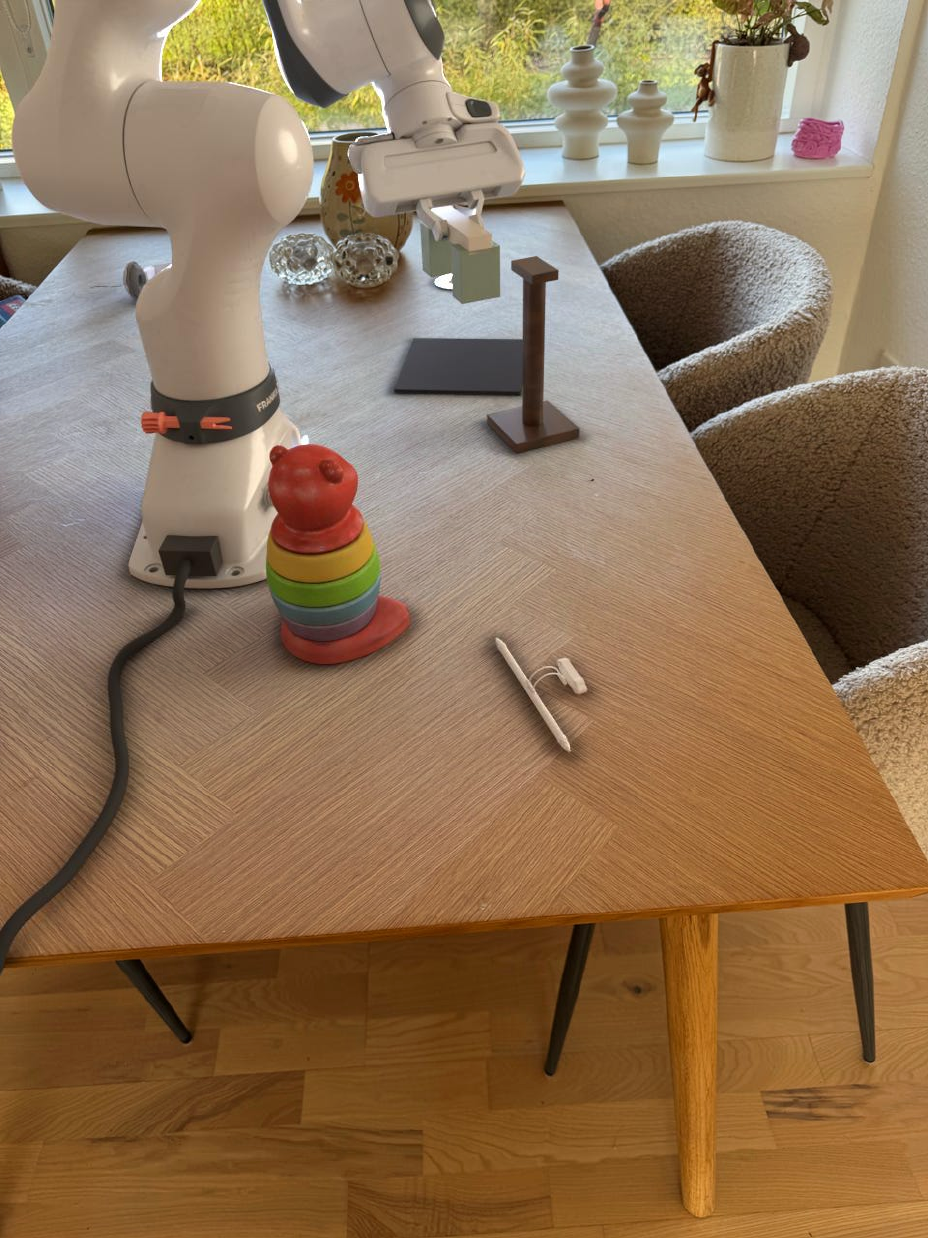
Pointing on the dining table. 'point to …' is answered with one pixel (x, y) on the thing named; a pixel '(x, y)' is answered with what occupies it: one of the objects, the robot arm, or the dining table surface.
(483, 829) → the dining table surface
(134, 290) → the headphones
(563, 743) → the picture light
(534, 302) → the stand
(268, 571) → the stacking bear
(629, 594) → the dining table surface
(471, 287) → the sage green twin blocks
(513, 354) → the desk mat
